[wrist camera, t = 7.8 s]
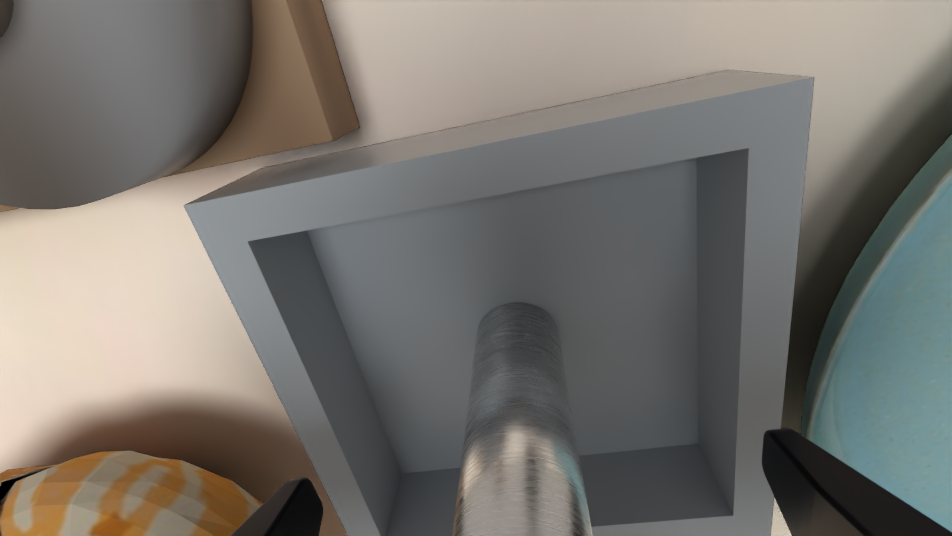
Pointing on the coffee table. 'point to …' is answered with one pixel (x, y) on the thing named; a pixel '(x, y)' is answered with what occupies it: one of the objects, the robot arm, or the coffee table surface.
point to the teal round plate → (894, 352)
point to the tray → (537, 296)
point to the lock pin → (520, 433)
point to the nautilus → (121, 498)
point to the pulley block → (157, 91)
